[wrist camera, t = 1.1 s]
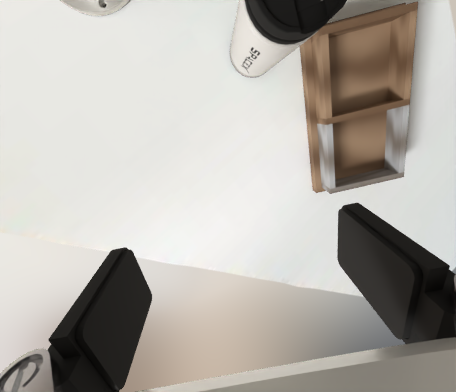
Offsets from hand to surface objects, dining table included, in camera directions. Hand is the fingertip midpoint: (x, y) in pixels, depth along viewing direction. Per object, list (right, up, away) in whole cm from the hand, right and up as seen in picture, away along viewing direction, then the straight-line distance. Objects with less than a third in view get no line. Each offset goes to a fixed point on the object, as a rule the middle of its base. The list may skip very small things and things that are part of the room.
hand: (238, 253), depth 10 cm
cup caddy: (+18, +16, +23) cm, 33 cm away
